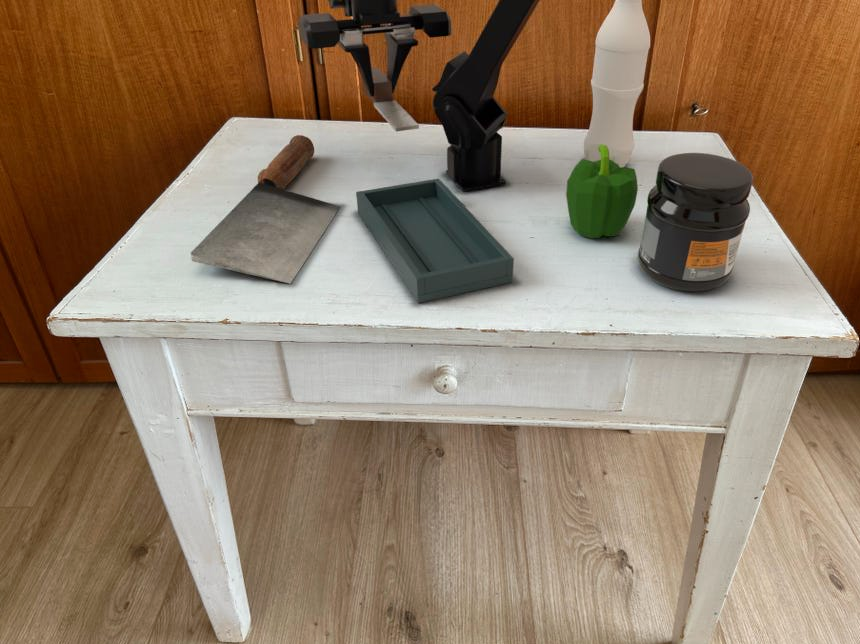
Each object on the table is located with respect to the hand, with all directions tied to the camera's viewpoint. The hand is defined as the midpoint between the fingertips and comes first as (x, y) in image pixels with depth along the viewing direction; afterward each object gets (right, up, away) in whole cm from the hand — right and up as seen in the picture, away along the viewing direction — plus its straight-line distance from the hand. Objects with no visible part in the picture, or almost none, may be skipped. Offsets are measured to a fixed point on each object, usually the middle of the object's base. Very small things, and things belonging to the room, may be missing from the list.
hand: (381, 94), depth 95 cm
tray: (+8, -23, -12) cm, 27 cm away
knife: (+1, -3, -2) cm, 3 cm away
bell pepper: (+28, -20, -8) cm, 35 cm away
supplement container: (+36, -26, -15) cm, 47 cm away
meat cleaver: (-10, -17, -6) cm, 21 cm away
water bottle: (+32, -7, +8) cm, 34 cm away
